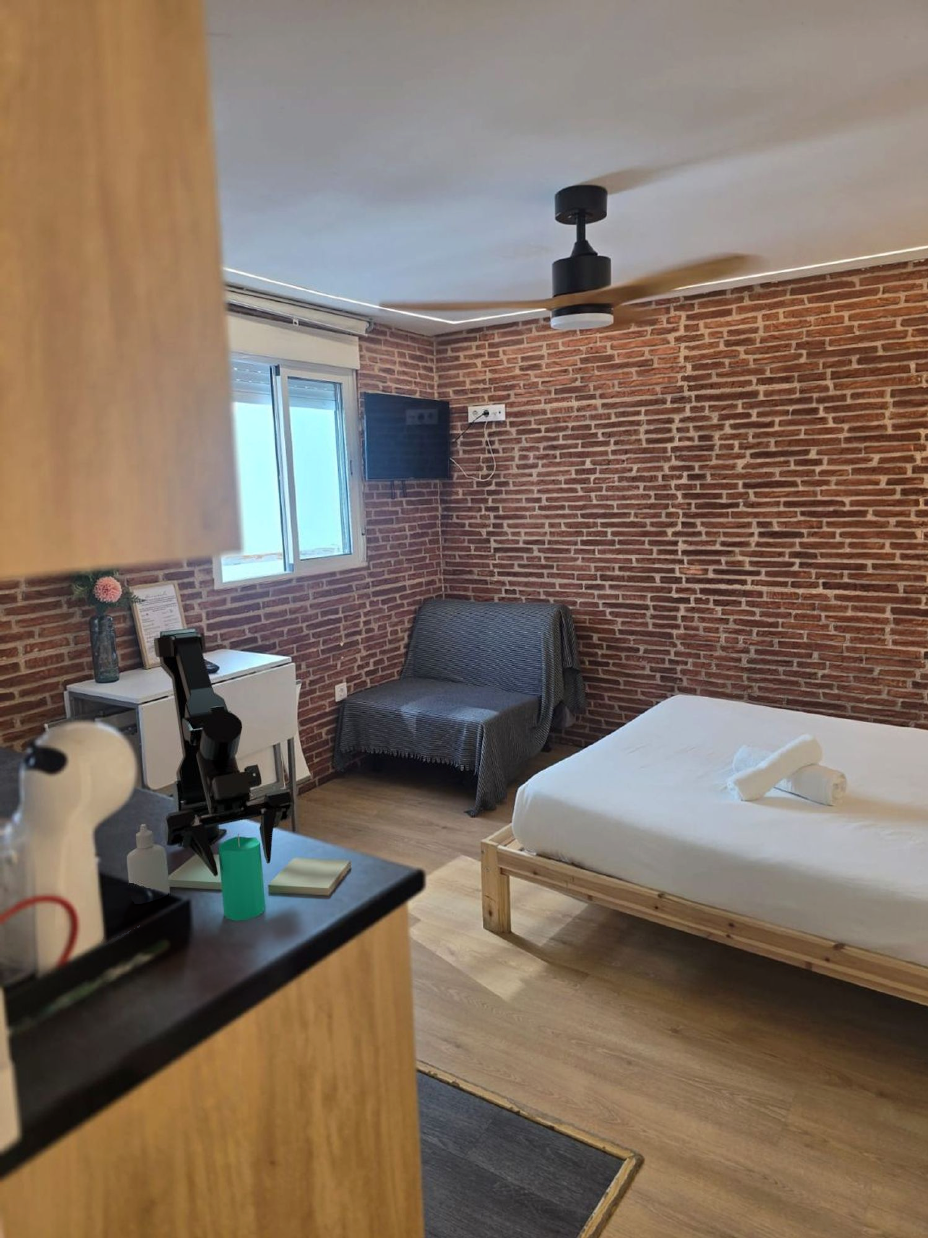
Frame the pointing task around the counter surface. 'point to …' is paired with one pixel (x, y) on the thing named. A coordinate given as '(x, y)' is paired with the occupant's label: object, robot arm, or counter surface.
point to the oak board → (310, 876)
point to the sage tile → (196, 875)
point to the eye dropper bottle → (148, 863)
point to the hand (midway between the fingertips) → (243, 868)
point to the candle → (241, 878)
